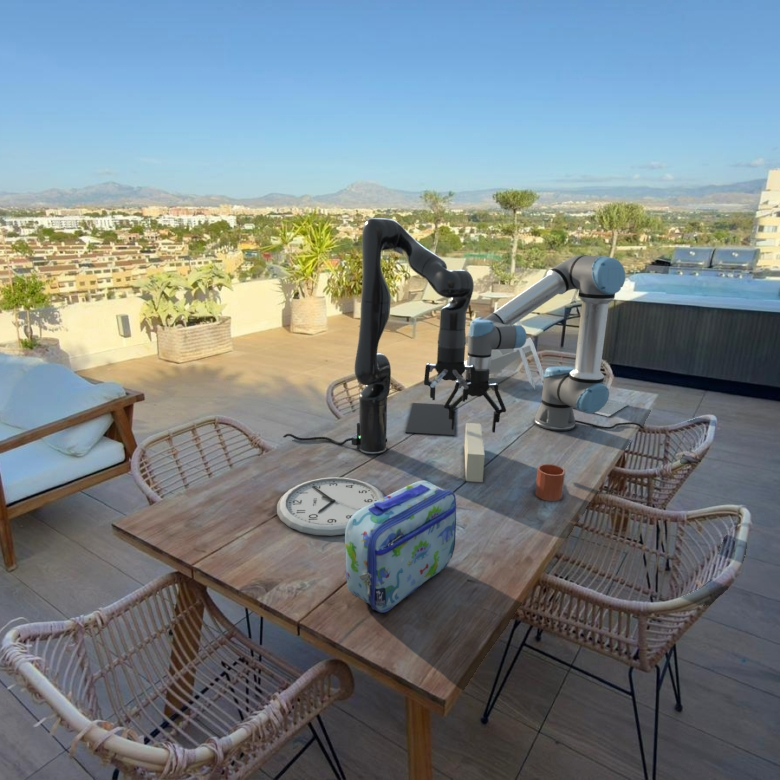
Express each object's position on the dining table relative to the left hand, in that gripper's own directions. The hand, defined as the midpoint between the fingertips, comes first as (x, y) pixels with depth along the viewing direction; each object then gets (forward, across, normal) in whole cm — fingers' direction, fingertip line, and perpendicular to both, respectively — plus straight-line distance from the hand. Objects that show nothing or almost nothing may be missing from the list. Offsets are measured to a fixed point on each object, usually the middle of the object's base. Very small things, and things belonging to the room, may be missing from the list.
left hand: (448, 400), depth 149 cm
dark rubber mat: (+26, +6, -54) cm, 61 cm away
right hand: (+18, -9, -23) cm, 30 cm away
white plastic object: (+26, -25, -110) cm, 116 cm away
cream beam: (+26, -9, -15) cm, 31 cm away
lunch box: (+26, +8, +48) cm, 55 cm away
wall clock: (+26, +30, +18) cm, 44 cm away
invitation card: (+26, -66, -81) cm, 108 cm away
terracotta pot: (+26, -30, +3) cm, 40 cm away
